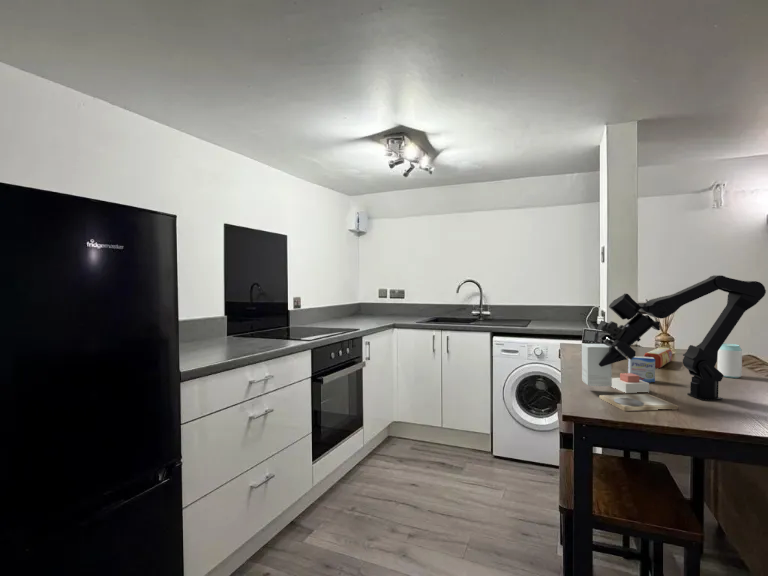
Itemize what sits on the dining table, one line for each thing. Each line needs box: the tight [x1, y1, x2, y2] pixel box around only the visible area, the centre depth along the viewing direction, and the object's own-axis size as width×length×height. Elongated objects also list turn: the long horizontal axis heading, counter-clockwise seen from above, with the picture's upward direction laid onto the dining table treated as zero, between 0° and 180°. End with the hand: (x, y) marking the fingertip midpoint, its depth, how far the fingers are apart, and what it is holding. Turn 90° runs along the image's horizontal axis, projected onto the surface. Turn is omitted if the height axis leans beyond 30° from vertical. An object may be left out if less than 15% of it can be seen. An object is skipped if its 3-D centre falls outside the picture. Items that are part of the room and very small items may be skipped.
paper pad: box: [598, 393, 679, 412], centre depth 125 cm, size 16×12×1 cm
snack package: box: [643, 347, 673, 369], centre depth 180 cm, size 21×7×7 cm, turn 134°
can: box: [716, 343, 743, 379], centre depth 158 cm, size 7×7×12 cm
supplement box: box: [581, 343, 613, 387], centre depth 138 cm, size 7×7×13 cm
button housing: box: [610, 377, 650, 394], centre depth 141 cm, size 8×8×3 cm
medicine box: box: [627, 355, 656, 383], centre depth 152 cm, size 8×4×9 cm, turn 68°
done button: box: [619, 372, 639, 383], centre depth 141 cm, size 4×4×3 cm
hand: (596, 363), depth 137 cm, fingers closed on supplement box, 7 cm apart
